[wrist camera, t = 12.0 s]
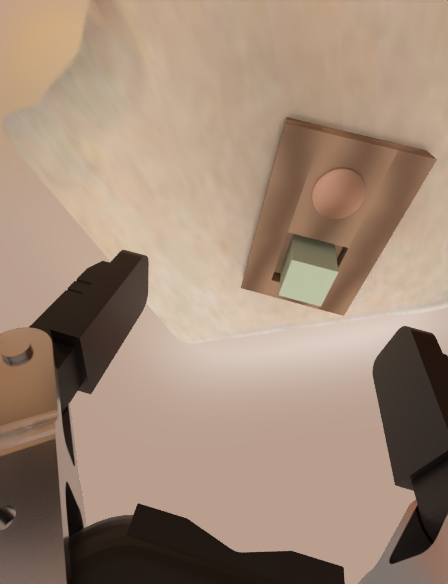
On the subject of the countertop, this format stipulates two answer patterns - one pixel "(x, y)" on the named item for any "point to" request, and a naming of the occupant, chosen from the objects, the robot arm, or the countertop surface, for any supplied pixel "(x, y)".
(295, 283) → the green block
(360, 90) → the countertop surface
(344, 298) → the puzzle board
